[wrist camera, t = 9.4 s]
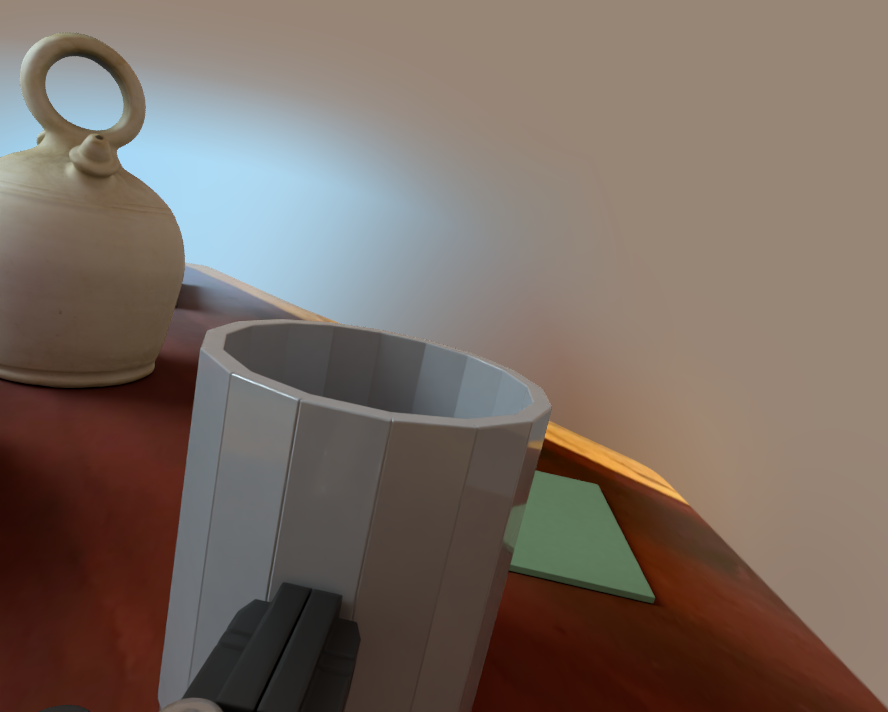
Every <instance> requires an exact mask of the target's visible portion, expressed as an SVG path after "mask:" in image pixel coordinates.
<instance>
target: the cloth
mask: <svg viewBox="0 0 888 712" xmlns="http://www.w3.org/2000/svg"><path fill="white" fill-rule="evenodd" d="M509 571H513V572H518V573H522V574H526V575H531V576H535V577H539V578H544V579H548V580H552V581H557V582H561V583H565V584H570V585H574V586H578V587H583V588H587V589H591V590H596V591H600V592H604V593H609V594H613V595H617V596H622V597H626V598H631V599H635V600H639V601H644V602H648V603H652V604H653V603H654V600H655V596H654V594H653V592H652V590H651V588H650V586H649V584H648V582H647V580H646V578H645V577H644V575H643V573H642V571H641V569H640V567H639V565H638V563H637V561H636V559H635V557H634V555H633V553H632V551H631V549H630V547H629V545H628V543H627V541H626V539H625V537H624V535H623V533H622V531H621V529H620V527H619V525H618V523H617V521H616V519H615V517H614V515H613V513H612V511H611V510H610V508H609V506H608V504H607V502H606V500H605V498H604V496H603V494H602V492H601V490H600V488H599V486H598V485H597V484H592V483H588V482H583V481H579V480H575V479H570V478H566V477H561V476H557V475H553V474H548V473H544V472H539V471H535V474H534V478H533V482H532V485H531V489H530V493H529V497H528V500H527V504H526V508H525V512H524V515H523V519H522V523H521V527H520V530H519V534H518V538H517V542H516V545H515V549H514V553H513V557H512V560H511V564H510V568H509Z"/></svg>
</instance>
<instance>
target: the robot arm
mask: <svg viewBox="0 0 888 712" xmlns="http://www.w3.org/2000/svg"><path fill="white" fill-rule="evenodd" d="M342 598H343V596H342V595H339V594H335V593H331V592H326V591H322V590H318V589H314V590H312V588H308V587H304V586H300V585H295V584H291V583H287V582H283V583H282V584H281V586H280V588H279V589H278V591H277V593H276V595H275V596H274V598H273V600H272V602H267V601H262V600H258V599H254V600H253V601H252V602H250V603H249V604H247V605H246V606H245V607H243V608H242V609H240V610H239V611H238V612H237V613H236V615H235V616H234V618H233V619H232V621H231V622H230V624H229V626H228V627H227V630H226V632H224V633H223V635H222V636H221V638H220V640H219V641H218V644H217V646H215V647H214V649H213V650H212V652H211V654H210V655H209V657H208V658H207V660H206V661H205V663H204V664H203V666H202V668H201V669H200V671H199V672H198V674H197V675H196V677H195V678H194V680H193V682H192V683H191V685H190V686H189V688H188V689H187V691H186V692H185V694H184V696H183V697H182V698H181V700H178V701H175V702H173V703H171V704H169V705H167V706H166V707H164V708H162V709H161V710H160V711H159V712H344V710H345V707H346V703H347V700H348V696H349V692H350V688H351V683H352V679H353V674H354V669H355V665H356V660H357V655H358V651H359V646H360V641H361V638H360V634H359V629H358V625H357V622H354V621H350V620H345V619H341V618H339V614H340V609H341V604H342ZM39 712H90V711H89V710H87V709H85V708H83V707H80V706H75V705H61V706H55V707H51V708H47V709H44V710H42V711H39Z"/></svg>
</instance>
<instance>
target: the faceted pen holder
mask: <svg viewBox="0 0 888 712" xmlns="http://www.w3.org/2000/svg"><path fill="white" fill-rule="evenodd" d="M551 410H552V406H551V404H550V402H549V400H548V398H547V396H546V394H545V392H544V390H543V389H542V388H540V387H539V386H537V385H536V384H534V383H533V382H531V381H529V380H528V379H526V378H525V377H523V376H522V375H520V374H519V373H517V372H516V371H514V370H512V369H510V368H507V367H505V366H502V365H500V364H497V363H495V362H492V361H490V360H488V359H485V358H483V357H481V356H478V355H475V354H472V353H469V352H466V351H462V350H459V349H456V348H452V347H449V346H446V345H442V344H439V343H436V342H432V341H428V340H424V339H420V338H415V337H411V336H406V335H402V334H397V333H393V332H388V331H384V330H378V329H371V328H365V327H358V326H351V325H345V324H338V323H330V322H317V321H302V320H287V319H282V320H281V319H275V320H256V321H239V322H238V321H237V322H234V323H230V324H227V325H224V326H220V327H217V328H214V329H211V330H208V331H207V332H206V334H205V337H204V340H203V343H202V346H201V349H200V355H199V363H198V371H197V379H196V388H195V396H194V404H193V412H192V420H191V428H190V436H189V445H188V453H187V461H186V469H185V477H184V485H183V493H182V501H181V510H180V518H179V526H178V534H177V542H176V550H175V558H174V567H173V575H172V583H171V591H170V599H169V607H168V615H167V624H166V632H165V640H164V648H163V656H162V664H161V672H160V681H159V689H158V700H159V710H161V709H162V708H164V707H166V706H167V705H169V704H171V703H173V702H175V701H178V700H181V698H182V697H183V696H184V694H185V692H186V691H187V689H188V688H189V686H190V685H191V683H192V682H193V680H194V678H195V677H196V675H197V674H198V672H199V671H200V669H201V668H202V666H203V664H204V663H205V661H206V660H207V658H208V657H209V655H210V654H211V652H212V650H213V649H214V647H215V646H217V644H218V641H219V640H220V638H221V636H222V635H223V633H224V632H226V630H227V627H228V626H229V624H230V622H231V621H232V619H233V618H234V616H235V615H236V613H237V612H238V611H239V610H240V609H242V608H243V607H245V606H246V605H247V604H249V603H250V602H252V601H253V600H254V599H258V600H262V601H267V602H272V600H273V598H274V596H275V595H276V593H277V591H278V589H279V588H280V586H281V584H282V583H283V582H287V583H291V584H295V585H300V586H304V587H308V588H312V590H314V589H318V590H322V591H326V592H331V593H335V594H339V595H342V596H343V598H342V604H341V609H340V614H339V618H341V619H345V620H350V621H354V622H357V625H358V629H359V634H360V638H361V641H360V646H359V651H358V655H357V660H356V665H355V669H354V674H353V679H352V683H351V688H350V692H349V696H348V700H347V703H346V707H345V710H344V712H471V710H472V707H473V703H474V699H475V695H476V692H477V688H478V684H479V680H480V677H481V673H482V669H483V665H484V662H485V658H486V654H487V650H488V647H489V643H490V639H491V635H492V632H493V628H494V624H495V620H496V617H497V613H498V609H499V605H500V602H501V598H502V594H503V590H504V587H505V583H506V579H507V575H508V572H509V568H510V564H511V560H512V557H513V553H514V549H515V545H516V542H517V538H518V534H519V530H520V527H521V523H522V519H523V515H524V512H525V508H526V504H527V500H528V497H529V493H530V489H531V485H532V482H533V478H534V474H535V470H536V467H537V463H538V459H539V455H540V452H541V448H542V444H543V440H544V437H545V433H546V429H547V425H548V422H549V418H550V414H551Z"/></svg>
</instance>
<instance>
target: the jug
mask: <svg viewBox="0 0 888 712" xmlns="http://www.w3.org/2000/svg"><path fill="white" fill-rule="evenodd" d="M68 56H80V57H85V58H88V59H91V60H93V61H95V62H96V63H98V64H99V65H101V66H102V67H103V68H104V69H106V70H107V71H108V72H109V73H110V74H111V75H112V77H113V78H114V79H115V81H116V82H117V84H118V86H119V88H120V90H121V93H122V96H123V102H124V108H123V114H122V117H121V118H120V120H119V121H118V123H116V124H115V125H114V126H113V127H111V128H109V129H107V130H100V131H95V130H89V129H85V128H81V127H79V126H76V125H74V124H72V123H70V122H68V121H67V120H65V119H64V118H63V117H62V116H61V115H59V113H58V112H57V111H56V110H55V109H54V108H53V106H52V104H51V103H50V101H49V99H48V96H47V94H46V89H45V80H46V75H47V72H48V70H49V69H50V67H51V66H52V65H53V64H54V63H55V62H57V61H58V60H60V59H62V58H65V57H68ZM20 86H21V91H22V94H23V97H24V100H25V102H26V105H27V107H28V108H29V110H30V112H31V113H32V115H33V116H34V117H35V118H36V120H37V121H38V122H39V123H40V124H41V125H42V127H43V128H44V131H43V132H41V133H40V134H39V135H38V137H37V145H38V146H36V147H34V148H32V149H28V150H25V151H20V152H16V153H11V154H8V155H6V156H3V157H0V378H2V379H6V380H10V381H15V382H20V383H25V384H35V385H42V386H50V387H60V388H84V387H101V386H111V385H119V384H124V383H129V382H133V381H136V380H138V379H141V378H143V377H146V376H148V375H149V374H151V373H152V371H153V370H154V368H155V360H156V358H157V357H158V355H159V352H160V350H161V348H162V346H163V344H164V341H165V338H166V335H167V331H168V328H169V324H170V321H171V318H172V315H173V312H174V309H175V305H176V302H177V299H178V295H179V292H180V289H181V285H182V281H183V277H184V270H185V255H184V245H183V239H182V235H181V232H180V229H179V226H178V224H177V222H176V219H175V216H174V215H173V213H172V211H171V209H170V208H169V207H168V205H167V204H166V203H165V202H164V201H163V200H162V199H161V198H160V197H159V196H158V195H157V194H156V193H155V192H154V191H153V190H152V189H151V188H150V187H148V186H147V185H146V184H145V183H143V182H142V181H141V180H140V179H138V178H137V177H135V176H134V175H132V174H130V173H129V172H127V171H126V170H125V169H124V168H122V166H121V164H120V161H119V159H118V157H117V149H118V148H120V147H122V146H124V145H126V144H128V143H129V142H131V141H132V140H133V139H134V138H135V137H136V136H137V135H138V133H139V132H140V130H141V128H142V125H143V123H144V118H145V108H146V106H145V97H144V93H143V89H142V86H141V84H140V82H139V80H138V78H137V76H136V74H135V73H134V71H133V70H132V68H131V67H130V65H129V64H128V63H127V62H126V61H125V60H124V59H123V58H122V57H121V56H120V55H119V54H118V53H117V52H116V51H115V50H113V49H112V48H111V47H109V46H108V45H106V44H104V43H103V42H101V41H99V40H97V39H96V38H93V37H90V36H87V35H84V34H79V33H59V34H55V35H51V36H48V37H45V38H43V39H41V40H40V41H38V42H37V43H36V44H35V45H34V46H33V47H31V49H30V50H29V51H28V53H27V54H26V56H25V57H24V59H23V62H22V65H21V71H20Z"/></svg>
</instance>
